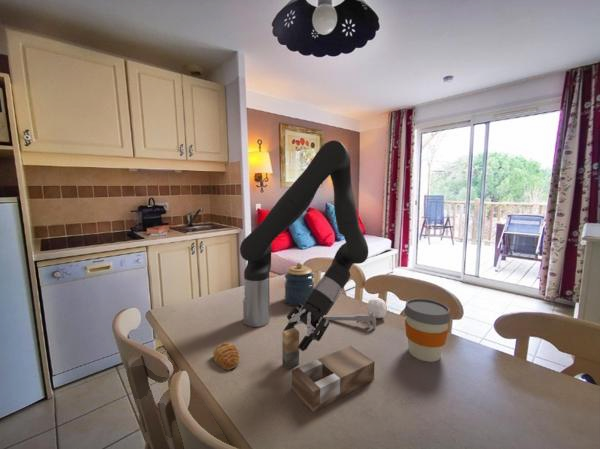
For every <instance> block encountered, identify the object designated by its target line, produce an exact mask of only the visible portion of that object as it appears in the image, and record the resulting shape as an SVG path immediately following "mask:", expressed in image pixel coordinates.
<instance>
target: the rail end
mask: <svg viewBox="0 0 600 449" xmlns="http://www.w3.org/2000/svg"><path fill="white" fill-rule="evenodd" d="M281 333H282V334H281V336H282V338H281V339H282V342H281V343H282V350H281V351H282V365H283V367H284V368H285V369H286V370H288V369H290V368H293V367H296V366H298V365H299V364H300V349H299V348H298V346H299V344H300V331H299V330H298V329H297V328H296V327H295V328H292V329H289V330H285V331H283V330H282V332H281Z"/></svg>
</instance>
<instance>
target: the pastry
mask: <svg viewBox="0 0 600 449" xmlns="http://www.w3.org/2000/svg"><path fill="white" fill-rule="evenodd" d="M236 347H237V346H235V345H234V344H231V343H230V342H222V343H221V344H219V345H218V346H217V347H216V348H215V349H214V351H213V360H214V361H215V363H216V364H217V365H218V366H219V367H221V368H222V369H224V370H232V369H234V368H236V367H237V366H238V365H239V363H240V356H239V351H238V350H237V348H236Z"/></svg>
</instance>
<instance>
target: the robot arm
mask: <svg viewBox="0 0 600 449" xmlns="http://www.w3.org/2000/svg"><path fill="white" fill-rule="evenodd" d="M351 168H352V167H351V153H350V151H349V149H348V148H347V147H346V146H345V145H344V144H343V143H342V142H341V141H339V140H336V139H335V140H334V139H333V140H330V141H327V142H325V143H324V144H322V145H321V147H320V148H319V149H318V151H317V152H316V153H315V155H314V157H313V158H312V160H311V161H310V163H309V164H308V165H307V166H306V168H305V169H304V170H303V172H302V173H301V174H300V175H299V177H298V178H297V179H295V181H294V182H293V183H292V184H291V186H289V188H287V190H286V191H285V192H284V193H283V195H281V197H280V198H279V199H278V201H277V202H276V203H275V205H274V206H273V207H272V208H271V209H270V211H269V212H268V213H267V215H266V216H265V217H264V219H263V220H262V221H261V222H260V224H259V225H258V226H257V227H255V229H253V231H251V233H249V234H248V235H247V236H246V237H245V238H243V240H242V242H241V244H240V248H239V252H240V255H241V258H242V259H244V260H245V261H246V262H247V264H246V266H245V269H244V271H243V276H244V277H243V281H244V283H243V286H244V288H243V289H244V298H243V300H242V306H243V307H242V309H243V311H242V312H243V315H242V316H243V325H246V326H249V327H251V328H255V327H256V328H257V327H258V328H260V327H264V326H266V325H268V324H269V323H270V319H271V317H270V316H271V315H270V313H271V312H270V309H271V308H270V272H271V266H272V243H273V242H275V240H276V239H277V238H278V236H280V234H282V233H283V232H285V231H286V230H287V229H288V228H289V227H291V226H292V225H293V224H294V223H295V222H296V221H298V219H299V218H300V217H301V216H302V215H303V214H305V212H306V211H307V210H308V208H309V207H310V205H311V204H312V202H313V200H314V198H315V196H316V195H317V191H318V190H319V188H320V186H321V185H322V184H323V183H324V182H325V181H326V179H327V178H328V177H330V180H331V183H332V188H333V206H334V207H333V210H334V217H335V222H336V228H337V232H338V234H340V236H343V238H344V240H345V242H344V243H343V244H342V245H340V247H339V248H338V249H337V250H336V253H335V255H334V256H333V259H332V262H331V265H330V266H329V267H328V269H327V270H326V272H325V273H324V275H323V276H322V277H321V278H320V280H319V279H318V281H317V283H316V285H315V286H313V290H312V291H311V293H310V294H309V296H308V297H307V299H306V304H305V305H304V306H303V305H302V304H300V303H299V302H298V303H297V304H296V305H295V306H293V308H292V309H291V311H290V312H289V313H288V314H287V316H286V318H287V320H288V322H287V325H286V326H285V327H284V328H283V330H282V331H285V330H289V329H292V328H296V327H295V326H298V325H302V324H303V325H305V326H306V334H305V335H304V337H303V338H302V340H301V341H300V342H299V346H298V348H299V351H302V352H304V351H306V350H307V349H308V347H309V346H310V344H311V343H312V342H313V341H317V342H319V341H321V339H322V338H323V335H324V334H325V333H326V330H327V329H328V327H329V325H330V320H327V319H325V318H324V317H325V316H328V314H329V312H330V311H331V310H332V307H333V306H334V305H335V303H336V302H337V300H338V298H339V297H340V295H341V293H342V291H343V290H344V288H345V286H346V285H347V284H348V281H350V278H351V272H350V270H351V268H352V266H353V264H354V265H355V264H356V265H357V264H358V265H360V264H362V263H364V262H366V261H367V258H368V257H369V247H368V246H369V245H368V243H367V240H366V238H365V236H364V235H365V234H364V233H363V231H362V229H361V227H360V223H359V216H358V211H357V207H356V203H355V197H354V192H353V187H352V186H353V184H352V176H351V175H352V173H351Z"/></svg>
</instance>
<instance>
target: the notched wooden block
mask: <svg viewBox="0 0 600 449" xmlns="http://www.w3.org/2000/svg"><path fill="white" fill-rule="evenodd" d="M373 380H375V360H373V359H372V358H370V357H369V356H367V355H366V354H365V353H362V352H361V351H360V350H358V349H357V348H355V347H353V346H352V345H348V346H346V347H344V348H342V349H338V350H336V351H334V352H331V353H329V354H327V355H325V356H321V357H320V358H318V359H315V360H313V361H311V362H307V363H305V364H303V365H300V366H298V367H296V368H293V369H291V390H292V391H294V393H295V394H296V395H297V396H298V397H299V399H301V401H302V402H303V403H304V404H305V405H306V406H307V407H308V408H309V409H310V411H311V412H312V413H314V412H316V411H318V410H320V409H321V408H324V407H325V406H327V405H329V404H330V403H332V402H335V401H336V400H339V399H340V398H342V397H343V396H346V395H348V394H349V393H351V392H353V391H355V390H356V389H358V388H360V387H362V386H364V385H365V384H367V383H370V382H372V381H373Z"/></svg>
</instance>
